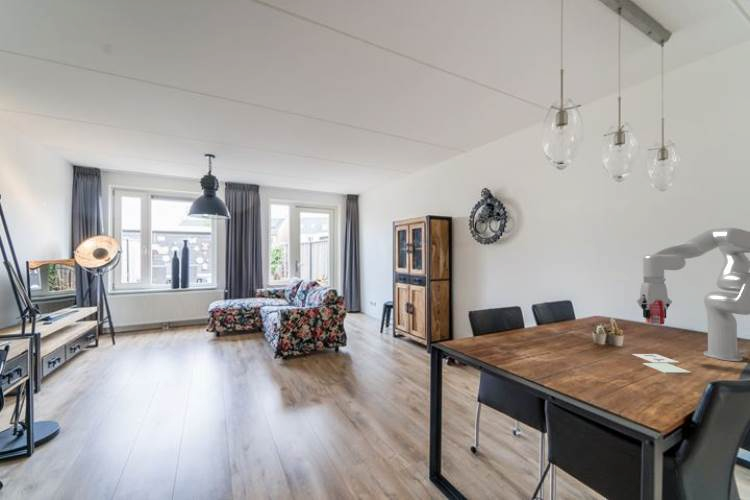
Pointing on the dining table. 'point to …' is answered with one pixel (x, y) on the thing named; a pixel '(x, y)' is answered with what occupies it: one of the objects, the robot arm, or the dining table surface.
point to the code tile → (655, 358)
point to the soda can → (656, 313)
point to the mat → (666, 368)
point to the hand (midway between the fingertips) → (654, 317)
